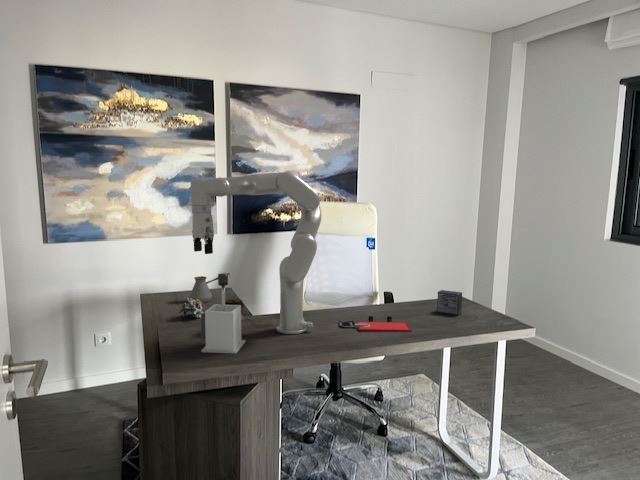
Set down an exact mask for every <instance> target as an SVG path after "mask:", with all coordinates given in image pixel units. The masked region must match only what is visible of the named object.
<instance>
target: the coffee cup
mask: <svg viewBox="0 0 640 480" xmlns="http://www.w3.org/2000/svg"><path fill="white" fill-rule="evenodd" d="M225 305H241V324H242V322H243V317H244V313H243V312H244V311H243V310H244V307H245V303H243V300H242V299H240V298H239V299H236V298H233V299H225Z"/></svg>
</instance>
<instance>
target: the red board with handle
mask: <svg viewBox="0 0 640 480" xmlns="http://www.w3.org/2000/svg"><path fill="white" fill-rule="evenodd" d="M392 319H393V318H392V316H386V321H374V316H373V315H368V321H361V320H360V321H354V320H338V323H339V327H343V328H355V329H357V332H364V333H365V332H373V333H374V332H380V333H381V332H383V333H385V332H390V333H392V332H397V333H401V332H403V333H405V332H406V333H407V332H409V333H412V328H410V326H409V324H408V323H407V322H406V321H392Z"/></svg>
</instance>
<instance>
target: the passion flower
mask: <svg viewBox="0 0 640 480" xmlns="http://www.w3.org/2000/svg"><path fill="white" fill-rule="evenodd" d="M186 300H187V303H186V302H184V303H181V304H180V306H181V307H182V309H181V310H179V313H178V314H181V313H182V312H183V313H182V318H184V317H185V315H186V314H187V313H189V312H191V314H192V315H193V317H195V318H196V319H201V314H202V313H204V312H203V310H204V308H203V306H204V305H203V304H204V303H202V302H201V301H200V299H199V300H198V299H197V300H196V301H195V300H193V299H192V298H190V297H188V296H186Z"/></svg>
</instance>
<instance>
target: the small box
mask: <svg viewBox="0 0 640 480" xmlns="http://www.w3.org/2000/svg"><path fill="white" fill-rule="evenodd" d="M462 303H463V292H461V291H454V290H453V291H452V290H443V289H440V290H439V291H437V308H436V313H437V314H444V315H452V316H459V315H460V314H462V307H463V306H462V305H463V304H462Z"/></svg>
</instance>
